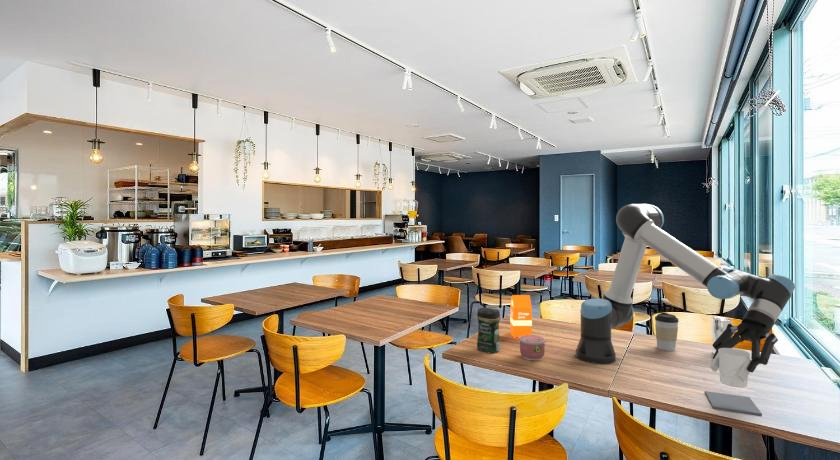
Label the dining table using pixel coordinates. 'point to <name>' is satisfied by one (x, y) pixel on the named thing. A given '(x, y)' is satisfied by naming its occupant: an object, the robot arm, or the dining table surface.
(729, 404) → the rubber mat
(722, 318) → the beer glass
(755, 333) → the robot arm
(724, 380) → the white cup
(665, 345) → the coffee cup
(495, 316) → the coffee jar
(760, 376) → the dining table surface
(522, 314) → the orange juice
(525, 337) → the container
